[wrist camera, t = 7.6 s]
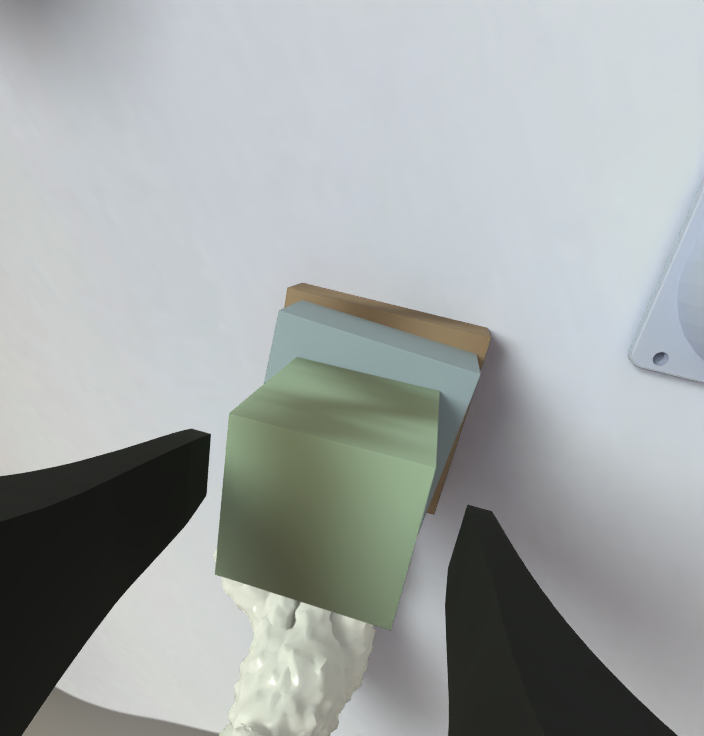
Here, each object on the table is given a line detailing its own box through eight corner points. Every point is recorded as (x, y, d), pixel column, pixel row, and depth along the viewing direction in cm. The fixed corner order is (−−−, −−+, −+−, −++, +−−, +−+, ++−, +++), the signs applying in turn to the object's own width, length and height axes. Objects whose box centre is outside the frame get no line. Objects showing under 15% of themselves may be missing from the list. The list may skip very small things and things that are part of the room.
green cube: (439, 390, 14) (436, 467, 10) (407, 514, 16) (390, 630, 11) (296, 357, 15) (229, 413, 10) (279, 478, 17) (215, 574, 12)
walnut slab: (486, 324, 18) (491, 338, 16) (435, 483, 21) (434, 514, 19) (306, 281, 19) (287, 287, 17) (280, 437, 22) (260, 461, 20)
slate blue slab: (476, 354, 16) (480, 374, 14) (419, 503, 19) (414, 542, 16) (302, 299, 17) (279, 310, 15) (268, 449, 20) (244, 479, 17)
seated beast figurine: (390, 511, 21) (323, 821, 10) (426, 651, 23) (403, 1037, 12) (222, 526, 24) (19, 787, 13) (267, 651, 26) (127, 970, 15)
